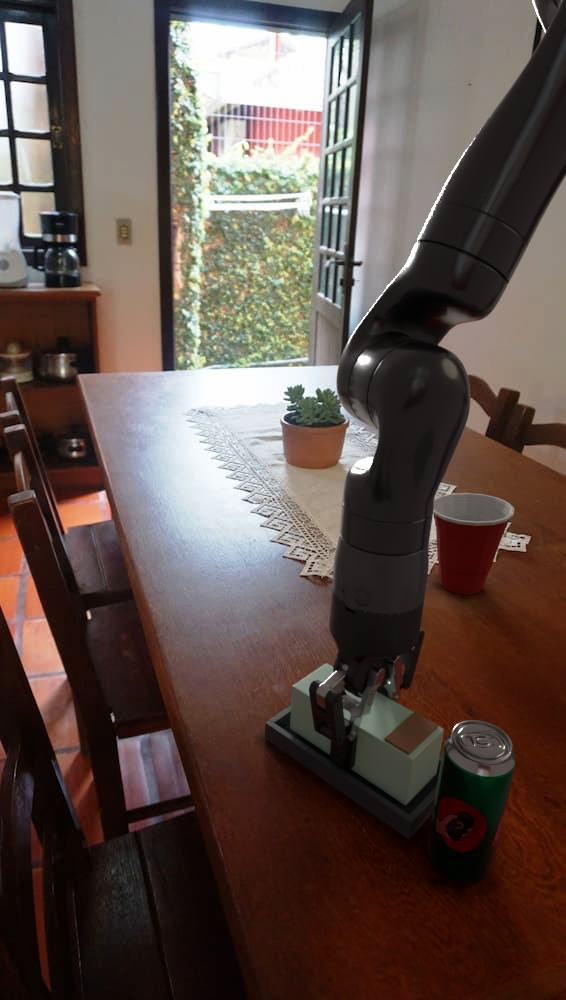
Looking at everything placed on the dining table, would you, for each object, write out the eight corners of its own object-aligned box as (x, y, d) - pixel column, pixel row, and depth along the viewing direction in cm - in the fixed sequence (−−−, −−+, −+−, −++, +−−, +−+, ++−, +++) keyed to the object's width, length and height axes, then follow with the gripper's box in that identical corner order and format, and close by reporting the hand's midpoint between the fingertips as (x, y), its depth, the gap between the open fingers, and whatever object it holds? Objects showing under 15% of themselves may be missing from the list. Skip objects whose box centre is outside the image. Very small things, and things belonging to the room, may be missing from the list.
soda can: (501, 887, 51) (530, 765, 47) (435, 890, 51) (458, 767, 46) (478, 831, 56) (503, 715, 51) (418, 833, 56) (437, 716, 51)
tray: (319, 698, 71) (320, 683, 70) (459, 784, 61) (462, 768, 60) (264, 738, 65) (265, 722, 64) (408, 840, 55) (411, 822, 54)
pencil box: (289, 728, 65) (292, 683, 63) (322, 703, 68) (326, 660, 66) (405, 806, 57) (413, 757, 55) (436, 773, 60) (444, 726, 58)
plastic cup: (434, 558, 101) (445, 482, 96) (508, 579, 96) (523, 500, 91) (407, 588, 92) (418, 507, 88) (487, 613, 87) (502, 528, 83)
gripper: (390, 543, 63) (373, 692, 69) (285, 599, 53) (277, 767, 60) (463, 572, 58) (437, 729, 65) (363, 640, 48) (345, 817, 55)
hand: (361, 747), depth 62 cm, fingers closed on pencil box, 5 cm apart
